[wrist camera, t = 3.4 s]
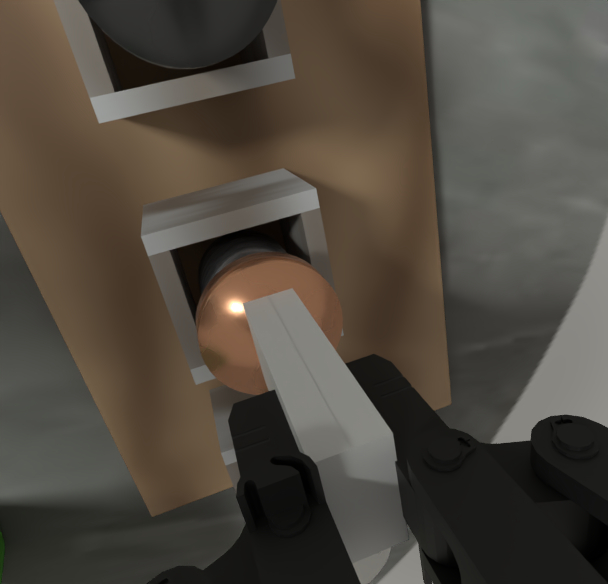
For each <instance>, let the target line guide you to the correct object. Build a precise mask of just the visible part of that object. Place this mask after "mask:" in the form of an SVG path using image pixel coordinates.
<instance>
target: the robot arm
mask: <svg viewBox="0 0 608 584" xmlns="http://www.w3.org/2000/svg"><path fill="white" fill-rule="evenodd" d="M243 307H244V310H245V314H246V317H247V320H248V324H249V327H250V331H251V334H252V338H253V341H254V345H255V348H256V352H257V355H258V359H259V362H260V365H261V369H262V372H263V376H264V379H265V382H266V385H267V387H268V390H269V392H266V393H263V394H260V395H257V396H254V397H251V398H248V399H245V400H242V401H239V402H237V403H234V404H233V407H232V410H231V413H230V416H229V419H228V423H229V428H230V432H231V437H232V441H233V446H234V450H235V455H236V459H237V464H238V468H239V473H240V479H239V481H238V483H237V493H236V498H237V501H238V503H239V506H240V509H241V511H242V514H243V517H244V519H245V522H246V524H245V527H244V529H243V531H242V533H241V535H240V537H239V538H238V540H237V541H236V542H235V544H234V545H233V546H232V547H231V548H230V549H229V550H228V551H227V552H226V553H225V554H224V555H223V556H221V557H220V558H219V559H217V560H216V561H215V562H213V563H212V564H211V565H210V566H208V567H207V568H206V569H204V570H203V571H202V570H200V569H198V568H197V567H195V566H177V567H175V568H172V569H169V570H166V571H164V572H162V573H160V574H159V575H157V576H156V577H155V578H153V579H152V580H151V581H149V582H148V583H147V584H361V583H360V581H359V578H358V576H357V574H356V571H355V569H354V567H353V563H355V562H357V561H360V560H362V559H364V558H367V557H369V556H372V555H374V554H376V553H379V552H381V551H383V550H386V549H388V548H390V547H393V546H395V545H398V544H400V543H402V542H405V541H407V540H409V536H408V529H407V524H408V526H409V527H410V529H411V531H412V532H413V534H414V536H415V538H416V539H417V541H418V544H419V551H420V558H421V566H422V572H423V580H424V583H425V584H432V582H433V584H608V428H607V427H605V426H603V425H601V424H599V423H597V422H594V421H592V420H589V419H587V418H584V417H579V416H572V415H559V416H550V417H548V418H546V419H544V420H541V421H539V422H538V423H537V424H536V425H535V427H534V428H533V429H532V433H531V441H522V442H511V443H501V444H485V443H479V442H478V441H477V440H476V439H474V438H473V437H472V436H470V435H469V434H467V433H464V432H462V431H459V430H456V429H450V428H449V427H447V425H446V424H445V423H444V422H443V421H442V420H441V418H440V417H439V416H438V415H437V414H436V413H435V412H434V410H433V409H432V408H431V407H430V406H429V405H428V403H427V402H426V401H425V400H424V399H423V398H422V397H421V395H420V394H419V393H418V392H417V391H416V390H415V388H414V387H413V388H412V386H411V384H410V383H409V382H408V380H407V379H406V378H405V377H403V375H402V373H401V372H400V371H399V370H398V369H397V368H396V367H395V365H394V364H393V363H392V362H391V361H389V360H387V359H384V358H382V357H380V356H378V355H376V354H372V355H369V356H366V357H363V358H360V359H357V360H354V361H351V362H348V363H344V362H343V360H342V359H341V357H340V356H339V355H338V353H337V352H336V350H335V349H334V347H333V346H332V344H331V343H330V342H329V340H328V339H327V337H326V336H325V334H324V333H323V331H322V330H321V329H320V327H319V326H318V324H317V323H316V321H315V320H314V318H313V317H312V316H311V314H310V313H309V311H308V310H307V308H306V307H305V305H304V304H303V303H302V301H301V300H300V298H299V297H298V295H297V294H296V292H295V291H294V290H293V288H291V289H288V290H285V291H281V292H278V293H275V294H272V295H268V296H265V297H262V298H259V299H255V300H252V301H249V302H246V303H243Z"/></svg>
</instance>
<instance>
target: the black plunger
mask: <svg viewBox="0 0 608 584" xmlns="http://www.w3.org/2000/svg"><path fill="white" fill-rule="evenodd" d="M78 1H79V2H80V4H81V5H82V7H83V8H84V10H85V11H86V12H87V14H88V15H89V16H90V17H91V18H92V19H93V21H94V22H95V23H96V24H97V25H98V26H99V27H100V29H101V30H102V31H103V32H104V33H105V34H106V35H107V36H109V37H110V38H111V39H112V40H113V41H114V42H115V43H117V44H118V45H119V46H121V47H122V48H123V49H125V50H126V51H128V52H129V53H131V54H133V55H135V56H136V57H138V58H140V59H143V60H145V61H147V62H150V63H152V64H156V65H159V66H163V67H167V68H175V69H194V68H201V67H206V66H209V65H212V64H216V63H218V62H221V61H223V60H225V59H227V58H229V57H232V56H233V55H235V54H236V53H238V52H239V51H241V50H242V49H244V48H245V47H246V46H247V45H248V44H249V43H250V42H252V41H253V40H254V39H255V37H256V36H257V35H258V34H259V33H260V32H261V30H262V29H263V27H264V26H265V24H266V23H267V21H268V20H269V18H270V16H271V14H272V12H273V10H274V8H275V5H276V3H277V0H78Z"/></svg>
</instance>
